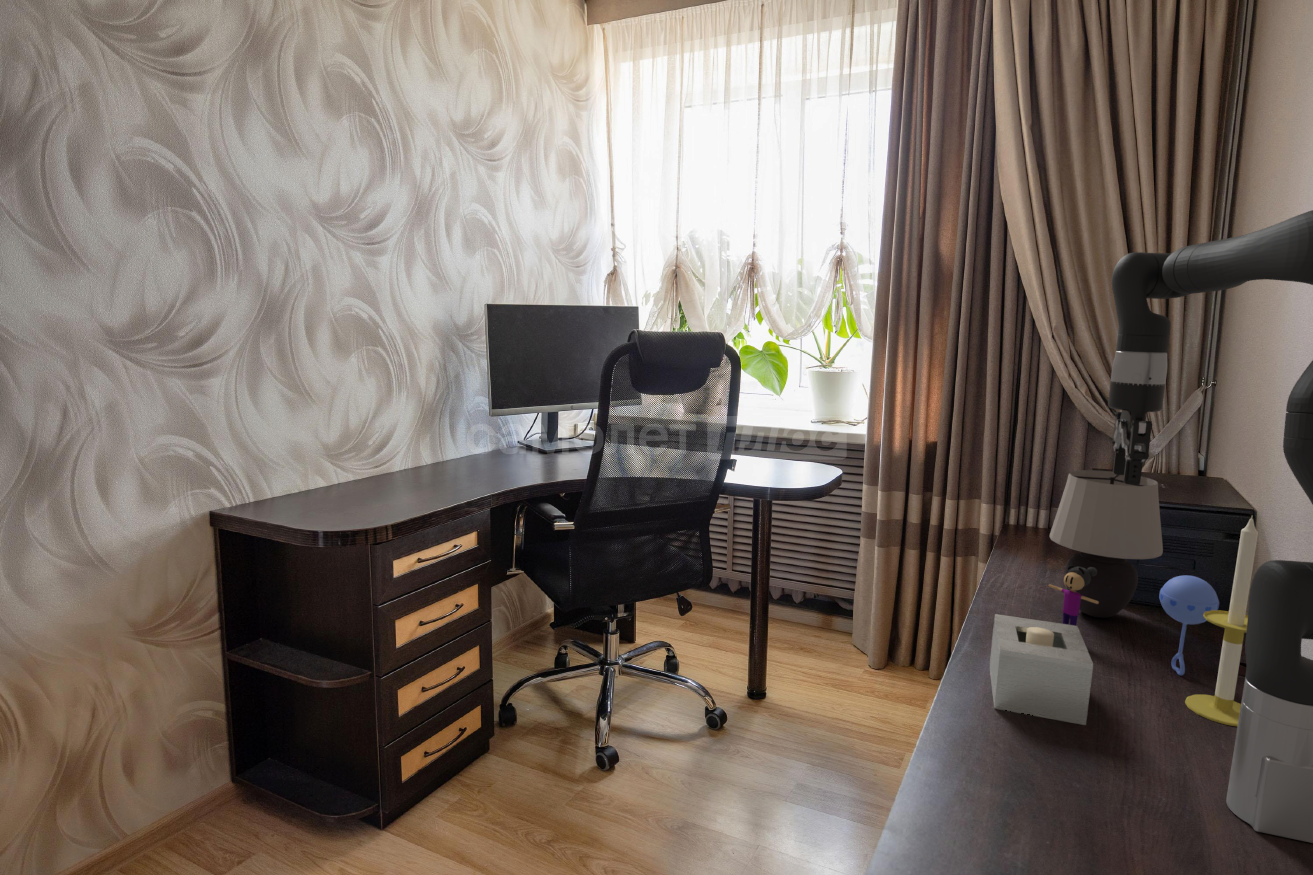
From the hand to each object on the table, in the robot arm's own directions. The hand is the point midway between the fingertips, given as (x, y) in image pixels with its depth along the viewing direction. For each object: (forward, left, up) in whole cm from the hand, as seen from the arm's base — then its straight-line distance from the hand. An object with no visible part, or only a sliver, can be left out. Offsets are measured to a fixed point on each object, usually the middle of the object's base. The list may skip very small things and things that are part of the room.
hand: (1125, 479), depth 127 cm
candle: (-2, -17, -36) cm, 40 cm away
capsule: (-8, +11, -35) cm, 38 cm away
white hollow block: (-8, +11, -36) cm, 39 cm away
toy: (+20, +2, -36) cm, 41 cm away
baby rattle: (+11, -14, -36) cm, 40 cm away
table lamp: (+37, -5, -36) cm, 52 cm away
